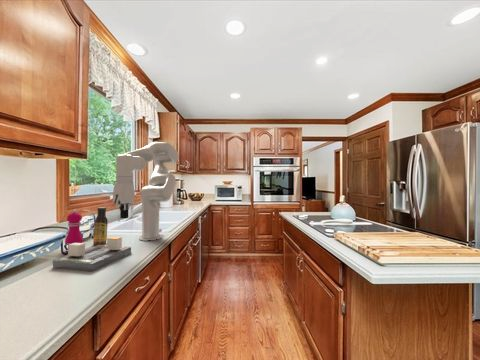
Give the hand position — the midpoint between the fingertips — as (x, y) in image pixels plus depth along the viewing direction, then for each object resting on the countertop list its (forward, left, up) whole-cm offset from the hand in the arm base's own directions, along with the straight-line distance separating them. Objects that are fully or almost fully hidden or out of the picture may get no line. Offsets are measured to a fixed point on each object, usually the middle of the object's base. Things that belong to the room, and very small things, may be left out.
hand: (124, 218), depth 107 cm
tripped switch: (+6, 0, -13) cm, 14 cm away
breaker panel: (+12, -5, -16) cm, 21 cm away
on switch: (+17, -9, -13) cm, 23 cm away
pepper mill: (+2, -27, -17) cm, 31 cm away
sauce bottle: (-10, -23, -17) cm, 30 cm away
